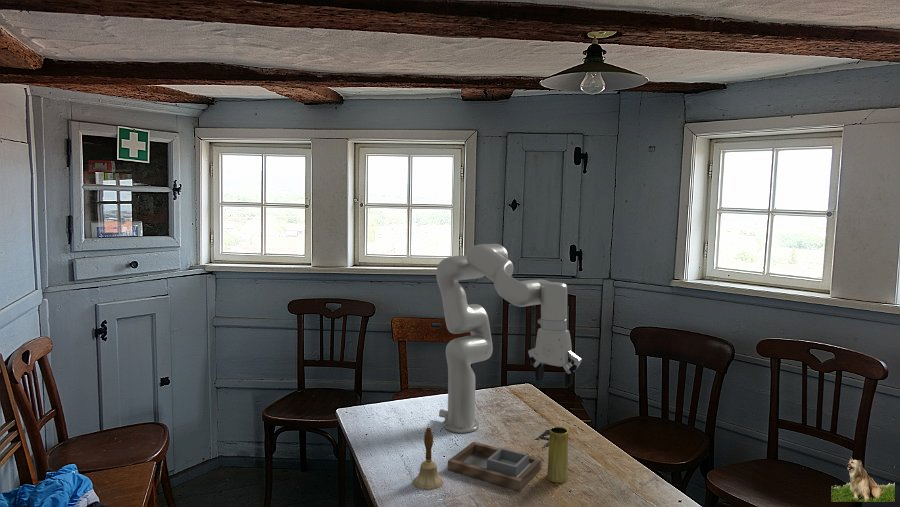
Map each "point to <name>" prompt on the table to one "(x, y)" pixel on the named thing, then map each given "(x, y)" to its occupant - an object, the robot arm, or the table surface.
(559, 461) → the vase
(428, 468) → the hand bell
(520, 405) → the table surface
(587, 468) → the table surface
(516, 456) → the square serving tray
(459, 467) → the open wooden box
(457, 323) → the robot arm
